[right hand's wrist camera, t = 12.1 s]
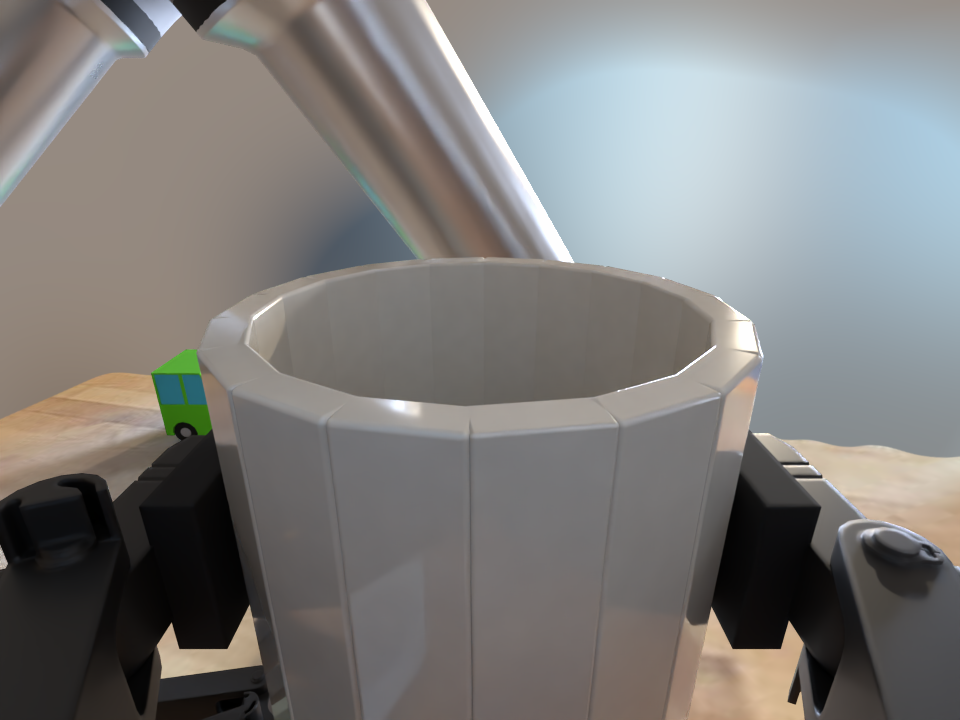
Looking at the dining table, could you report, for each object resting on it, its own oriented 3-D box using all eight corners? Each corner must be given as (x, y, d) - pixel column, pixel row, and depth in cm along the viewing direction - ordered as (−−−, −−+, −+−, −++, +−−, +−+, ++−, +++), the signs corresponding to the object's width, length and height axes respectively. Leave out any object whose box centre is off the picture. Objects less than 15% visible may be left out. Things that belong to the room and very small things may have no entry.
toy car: (266, 447, 69) (253, 376, 65) (164, 447, 69) (146, 376, 66) (293, 411, 79) (283, 347, 75) (204, 410, 79) (189, 346, 75)
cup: (438, 562, 17) (426, 245, 14) (701, 683, 13) (786, 285, 10) (213, 801, 11) (72, 333, 7) (583, 1157, 7) (699, 550, 3)
